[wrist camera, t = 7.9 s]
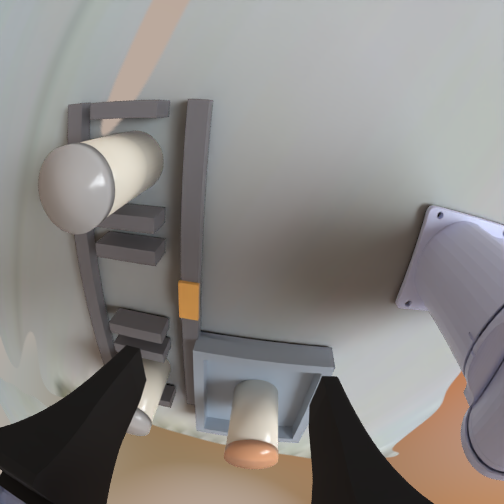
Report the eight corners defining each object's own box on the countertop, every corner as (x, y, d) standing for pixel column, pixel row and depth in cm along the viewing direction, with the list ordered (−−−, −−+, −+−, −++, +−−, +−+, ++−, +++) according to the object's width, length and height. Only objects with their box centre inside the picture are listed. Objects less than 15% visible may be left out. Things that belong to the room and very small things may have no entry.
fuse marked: (275, 377, 24) (273, 447, 18) (281, 403, 25) (281, 467, 19) (228, 380, 24) (217, 448, 18) (239, 406, 26) (231, 469, 20)
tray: (331, 347, 23) (335, 367, 21) (298, 426, 28) (298, 442, 26) (199, 331, 23) (192, 350, 21) (200, 414, 29) (196, 430, 27)
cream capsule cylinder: (165, 130, 16) (105, 144, 10) (163, 194, 18) (109, 239, 12) (108, 130, 17) (35, 147, 10) (108, 190, 18) (43, 229, 12)
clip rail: (214, 100, 15) (206, 99, 14) (201, 398, 27) (198, 413, 25) (77, 104, 16) (59, 105, 14) (113, 377, 27) (106, 390, 25)
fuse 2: (169, 352, 24) (144, 416, 18) (173, 381, 26) (152, 440, 20) (127, 342, 25) (96, 401, 18) (134, 371, 26) (108, 426, 20)
